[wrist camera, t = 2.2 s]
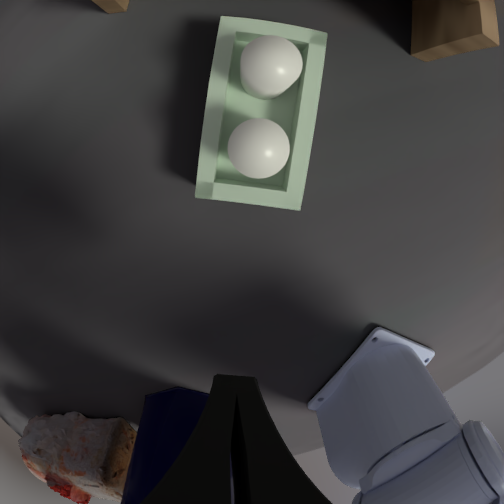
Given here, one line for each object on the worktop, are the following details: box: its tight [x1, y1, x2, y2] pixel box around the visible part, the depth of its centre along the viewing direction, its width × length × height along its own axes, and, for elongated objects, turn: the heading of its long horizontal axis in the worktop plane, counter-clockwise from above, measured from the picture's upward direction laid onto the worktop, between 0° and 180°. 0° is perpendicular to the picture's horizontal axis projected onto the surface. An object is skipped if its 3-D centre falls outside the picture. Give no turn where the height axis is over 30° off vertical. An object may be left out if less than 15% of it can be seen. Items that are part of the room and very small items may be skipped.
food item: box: [18, 411, 137, 504], centre depth 20 cm, size 14×8×10 cm, turn 106°
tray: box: [195, 16, 327, 211], centre depth 12 cm, size 9×5×4 cm, turn 172°
